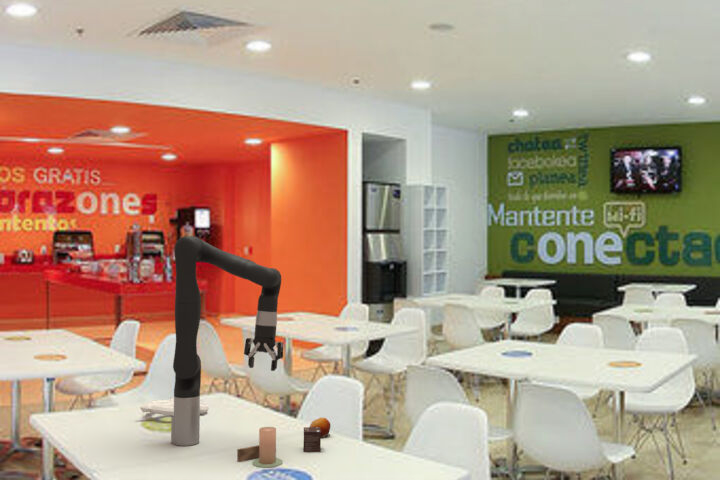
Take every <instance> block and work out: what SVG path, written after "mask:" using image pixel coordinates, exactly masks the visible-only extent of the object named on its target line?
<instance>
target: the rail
mask: <svg viewBox="0 0 720 480" xmlns="http://www.w3.org/2000/svg"><path fill="white" fill-rule="evenodd" d="M236 450H237V451H236V452H237V459H236V460H237V462H238V463H240V462H244V461H250V460H255V459H259V444H258V445H257V444H256V445H254V446H253V445H252V446H248V447H247V446H246V447H242V448H237V449H236Z"/></svg>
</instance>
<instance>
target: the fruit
mask: <svg viewBox="0 0 720 480" xmlns="http://www.w3.org/2000/svg"><path fill="white" fill-rule="evenodd" d="M309 427H320V429H321V438H327V435H328V436H330V430H331V422H330V421H329V420H328V418H326V417H318V418H317V419H314V420H313V421H311V423H310V426H309Z"/></svg>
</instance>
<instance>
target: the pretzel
mask: <svg viewBox="0 0 720 480" xmlns="http://www.w3.org/2000/svg"><path fill="white" fill-rule="evenodd" d="M139 408H140V410H141V412H142V413H152V414H158V415H163V416H171V417H173V416H174V397H172V398H170V399H168V400H166V399H165V400H164V399H161V400H158V399H157V400H153V401H148V402H147V403H143V404H141V406H140V407H139ZM209 410H210V409H209V406H208V405H207V403H204V402H200V415H201V414H205V413H208V412H209Z"/></svg>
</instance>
